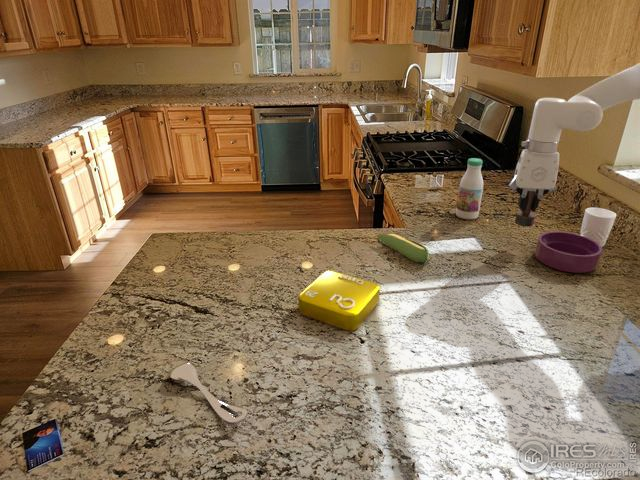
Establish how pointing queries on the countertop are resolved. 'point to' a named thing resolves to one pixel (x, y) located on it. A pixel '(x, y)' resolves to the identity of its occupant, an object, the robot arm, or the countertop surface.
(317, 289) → the element tile
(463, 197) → the milk bottle
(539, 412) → the countertop surface
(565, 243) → the bowl
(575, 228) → the countertop surface
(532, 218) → the dish brush
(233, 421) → the white kitchen utensil
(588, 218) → the white cup
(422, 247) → the edible corn
